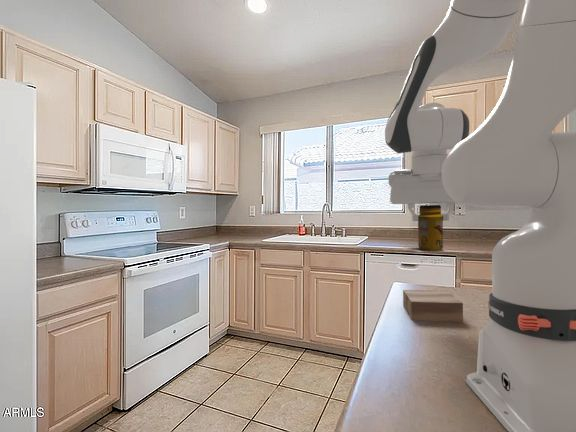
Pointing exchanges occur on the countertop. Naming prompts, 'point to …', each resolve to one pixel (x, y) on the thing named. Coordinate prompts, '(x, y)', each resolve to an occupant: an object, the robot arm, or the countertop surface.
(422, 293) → the walnut block
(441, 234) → the condiment
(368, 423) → the countertop surface
